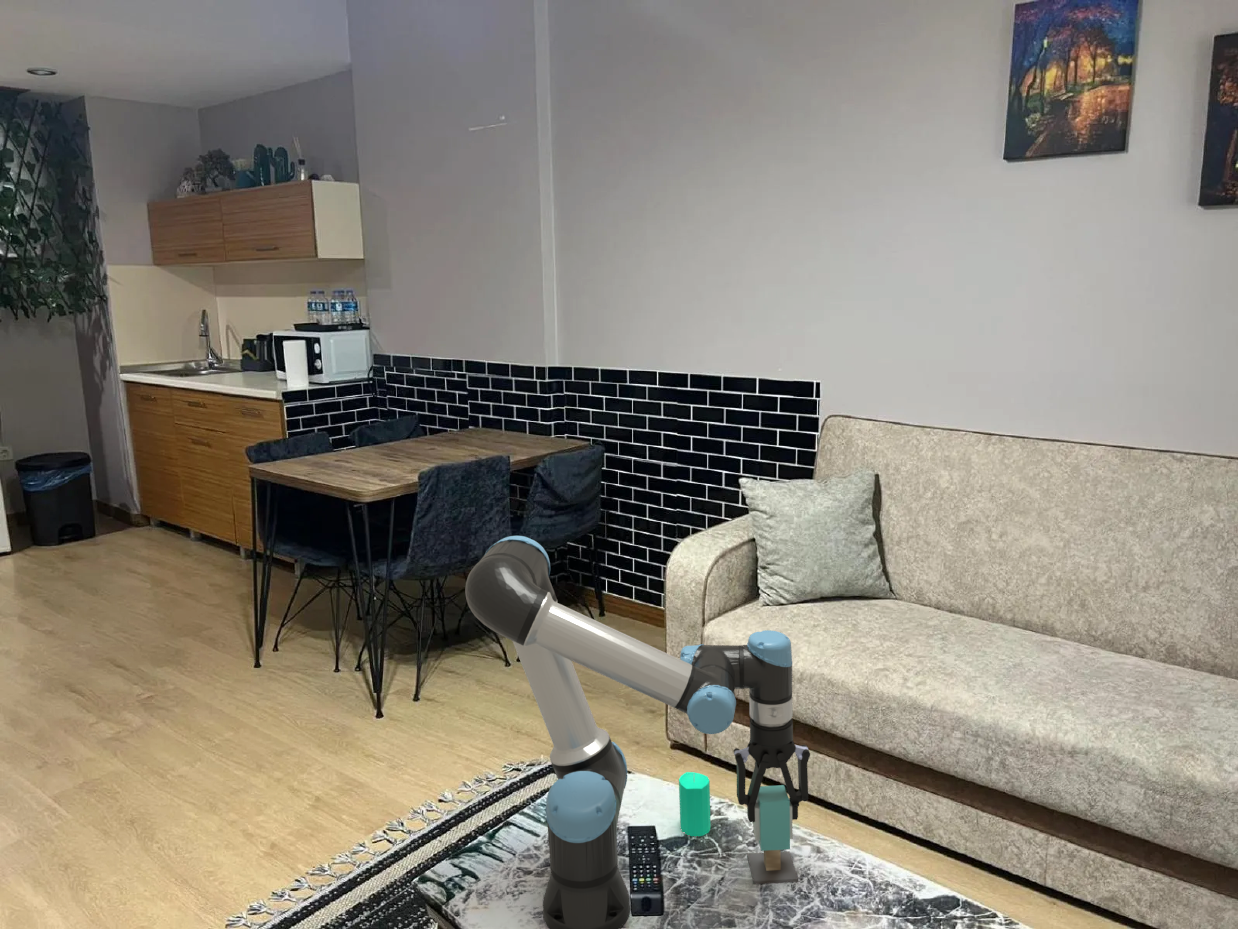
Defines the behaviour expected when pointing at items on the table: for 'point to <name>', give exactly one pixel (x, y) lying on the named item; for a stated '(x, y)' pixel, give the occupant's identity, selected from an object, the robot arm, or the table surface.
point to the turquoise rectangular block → (774, 818)
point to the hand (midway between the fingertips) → (772, 835)
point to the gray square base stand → (772, 867)
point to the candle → (694, 804)
